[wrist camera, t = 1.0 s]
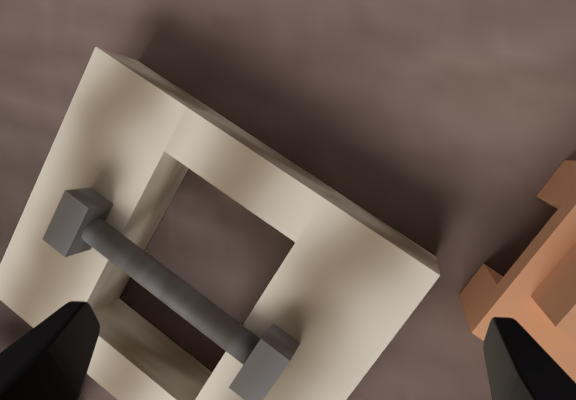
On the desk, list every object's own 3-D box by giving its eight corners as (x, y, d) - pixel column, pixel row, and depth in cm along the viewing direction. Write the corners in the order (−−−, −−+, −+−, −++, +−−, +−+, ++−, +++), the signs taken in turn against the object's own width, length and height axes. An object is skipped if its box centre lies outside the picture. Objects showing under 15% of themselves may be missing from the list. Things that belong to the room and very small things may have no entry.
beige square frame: (435, 256, 22) (443, 288, 16) (276, 469, 25) (243, 548, 20) (137, 60, 25) (68, 37, 20) (37, 274, 29) (-42, 300, 24)
